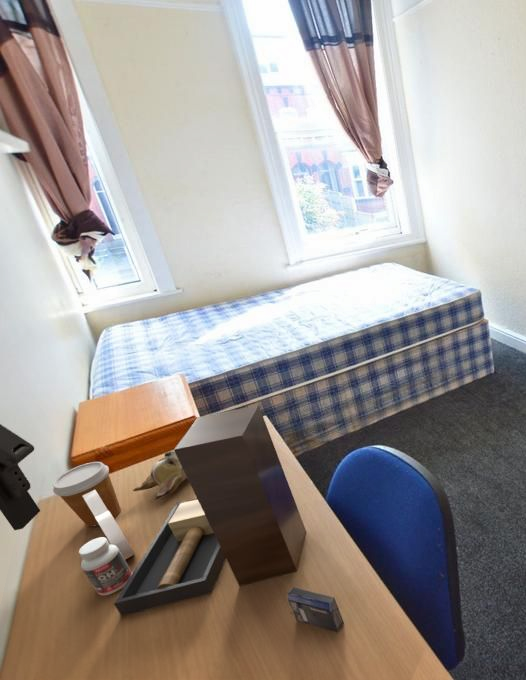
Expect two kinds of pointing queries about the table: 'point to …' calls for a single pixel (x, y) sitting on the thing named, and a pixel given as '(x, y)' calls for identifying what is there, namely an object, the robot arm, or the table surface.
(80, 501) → the disposable coffee cup
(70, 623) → the table surface
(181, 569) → the mallet
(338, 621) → the mini dv tape
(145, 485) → the ceramic sculpture
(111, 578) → the pill bottle
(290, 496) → the stand
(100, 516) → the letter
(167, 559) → the tray
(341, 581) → the table surface
